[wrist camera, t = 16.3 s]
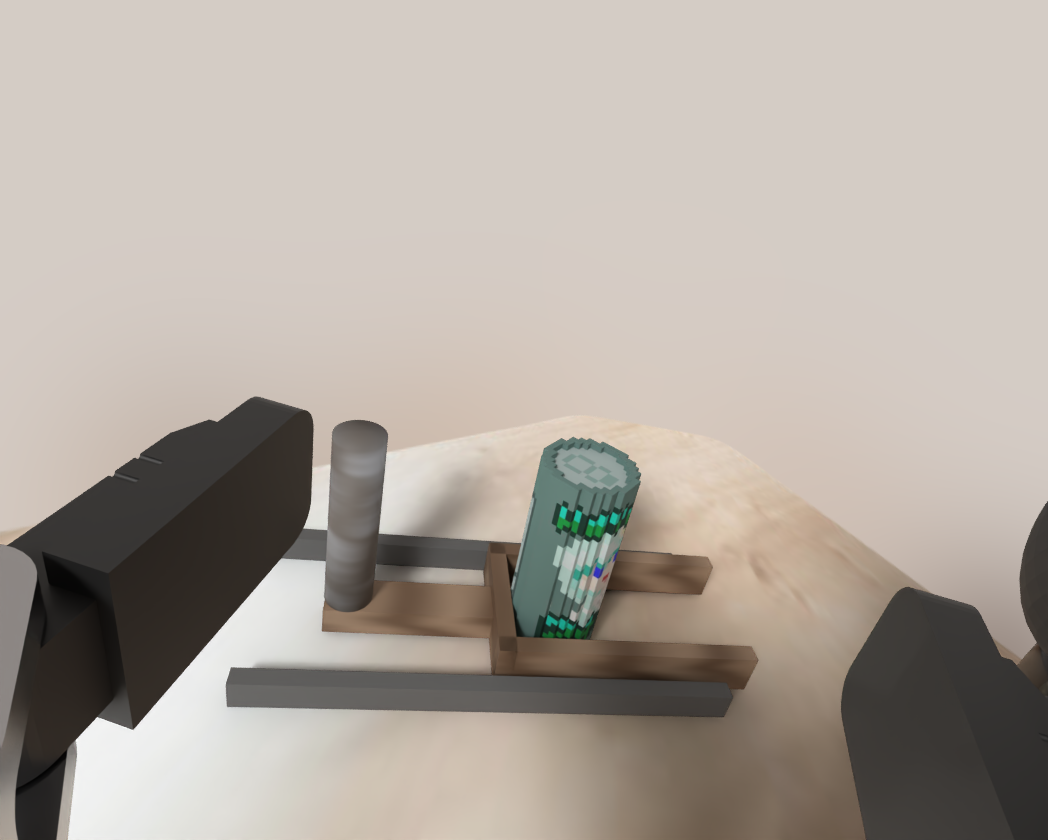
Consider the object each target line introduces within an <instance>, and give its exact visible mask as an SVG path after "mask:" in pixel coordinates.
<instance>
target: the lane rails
mask: <svg viewBox="0 0 1048 840" xmlns="http://www.w3.org/2000/svg"><path fill="white" fill-rule="evenodd" d="M327 531H328V530H314V529H303V530H302V532H301V533H300V535H299V537H298V538H297V540H296V541H295V543H294V544H293V545H292V546H291V548H290V549H289V550H288V551H287V552H286V553H285V554H284V556H283V557H282V558H286V559H303V560H320V561H326V552H327ZM489 542H491V543H506V544H521V543H508V542H493V541H478V540H463V539H448V538H434V537H419V536H404V535H389V534H379V535H378V545H377V555H376V564H388V565H405V566H422V567H439V568H456V569H473V570H484V566H485V561H486V556H487V551H488V546H489ZM618 551H626V552H641V553H656V554H671V553H658V552H643V551H628V550H618ZM671 555H672V554H671ZM226 697H227V707H269V708H317V709H365V710H413V711H461V712H509V713H557V714H605V715H653V716H701V717H724V715H725V713H726V711H727V709H728V707H729V705H730V703H731V701H732V699H733V696H732V694H731V692H730V689H729V687H728V685H727V683H721V682H688V681H656V680H623V679H590V678H558V677H525V676H493V675H460V674H428V673H395V672H363V671H330V670H298V669H265V668H232V667H231V669H230V673H229V676H228V679H227V682H226Z"/></svg>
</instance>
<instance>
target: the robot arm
mask: <svg viewBox="0 0 1048 840" xmlns="http://www.w3.org/2000/svg"><path fill="white" fill-rule="evenodd" d="M312 455H313V419H312V416H311V414H310V413H309V412H308V411H306V410H302V409H299V408H295V407H292V406H289V405H285V404H282V403H278V402H275V401H271V400H268V399H264V398H261V397H253V398H250V399H249V400H247V401H246V402H244V403H243V404H242V405H240V406H239V407H238V408H236V409H235V410H233V411H232V412H231V413H229V414H228V415H227V416H225V417H224V418H223V419H221V420H220V421H218V422H215V421H212V420H207V421H204V422H201V423H198V424H195V425H193V426H190V427H186V428H184V429H181V430H178V431H175V432H172V433H170V434H168V435H167V436H165V437H164V438H163V439H161V440H160V441H158V442H157V443H155V444H154V445H153V446H151V447H149V448H148V449H146V450H145V451H144V452H142V453H141V454H140V457H139V459H136V458H133V459H132V460H130V461H129V462H128V463H126V464H125V465H123V466H122V467H120V468H119V469H117V470H116V471H115V474H114V476H113V477H111V476H107V477H106V478H104V479H103V480H101V481H100V482H99V483H97V484H96V485H94V486H93V487H91V488H90V489H88V490H87V491H85V492H84V493H83V494H81V495H80V496H78V497H77V498H75V499H74V500H73V501H71V502H70V503H68V504H67V505H66V506H64V507H63V508H61V509H59V510H58V511H57V512H55V513H54V514H52V515H51V516H49V517H48V518H46V519H45V520H43V521H42V522H41V523H39V524H38V525H36V526H35V527H33V528H32V529H30V530H29V531H27V532H26V533H25V534H23V535H22V536H20V537H19V538H17V539H16V540H14V541H13V542H11V543H10V544H8V545H7V546H6V545H2V544H0V840H68V831H69V822H70V813H71V804H72V795H73V785H74V776H75V767H76V758H77V746H76V742H75V740H76V739H77V738H78V737H79V736H80V735H81V734H82V733H83V732H84V730H85V729H86V728H87V727H88V726H89V725H90V724H91V723H92V722H93V721H94V720H95V719H96V718H97V717H99V718H102V719H105V720H107V721H110V722H113V723H116V724H118V725H121V726H124V727H127V728H129V729H132V730H133V729H134V728H135V727H136V726H137V725H138V724H139V723H140V721H141V720H142V719H143V718H144V717H145V716H146V714H147V713H148V712H149V711H150V710H151V709H152V707H153V706H154V705H155V704H156V703H157V702H158V701H159V699H160V698H161V697H162V696H163V695H164V694H165V692H166V691H167V690H168V689H169V688H170V687H171V685H172V684H173V683H174V682H175V681H176V680H177V678H178V677H179V676H180V675H181V674H182V673H183V672H184V670H185V669H186V668H187V667H188V666H189V665H190V663H191V662H192V661H193V660H194V659H195V658H196V656H197V655H198V654H199V653H200V652H201V651H202V650H203V648H204V647H205V646H206V645H207V644H208V643H209V641H210V640H211V639H212V638H213V637H214V636H215V634H216V633H217V632H218V631H219V630H220V629H221V627H222V626H223V625H224V624H225V623H226V622H227V621H228V619H229V618H230V617H231V616H232V615H233V614H234V612H235V611H236V610H237V609H238V608H239V607H240V605H241V604H242V603H243V602H244V601H245V600H246V599H247V597H248V596H249V595H250V594H251V593H252V592H253V590H254V589H255V588H256V587H257V586H258V585H259V583H260V582H261V581H262V580H263V579H264V578H265V576H266V575H267V574H268V573H269V572H270V571H271V570H272V568H273V567H274V566H275V565H276V564H277V563H278V561H279V560H280V559H281V558H282V557H283V556H284V554H285V553H286V552H287V551H288V550H289V549H290V548H291V546H292V545H293V544H294V543H295V541H296V540H297V538H298V537H299V535H300V533H301V532H302V530H303V527H304V525H305V523H306V520H307V517H308V514H309V510H310V505H311V488H312V458H313V456H312ZM1020 594H1021V604H1022V608H1023V612H1024V615H1025V619H1026V622H1027V625H1028V627H1029V629H1030V631H1031V632H1032V634H1033V636H1034V638H1035V640H1036V641H1037V643H1038V645H1039V647H1040V648H1041V649H1042V650H1043V651H1044V652H1045V653H1046V654H1047V656H1048V502H1047V503H1046V504H1045V506H1044V508H1043V509H1042V511H1041V513H1040V514H1039V516H1038V518H1037V519H1036V521H1035V523H1034V526H1033V528H1032V530H1031V532H1030V535H1029V538H1028V540H1027V543H1026V546H1025V549H1024V553H1023V558H1022V564H1021V571H1020ZM841 713H842V721H843V726H844V731H845V736H846V741H847V746H848V751H849V756H850V761H851V766H852V771H853V776H854V781H855V786H856V790H857V795H858V800H859V805H860V810H861V815H862V820H863V825H864V830H865V835H866V840H1048V696H1044V695H1043V694H1042V693H1041V692H1040V691H1039V690H1038V688H1037V687H1036V686H1035V685H1034V684H1033V683H1032V682H1031V681H1030V680H1029V679H1028V677H1027V676H1026V675H1025V674H1024V673H1023V672H1022V671H1021V670H1020V669H1019V668H1018V666H1017V665H1016V664H1015V663H1014V662H1013V661H1012V660H1010V659H1006V658H1003V657H1001V655H1000V653H999V651H998V649H997V647H996V645H995V643H994V641H993V639H992V637H991V635H990V633H989V631H988V629H987V627H986V625H985V623H984V621H983V619H982V617H981V615H980V613H979V612H978V610H977V609H976V608H975V607H973V606H971V605H968V604H965V603H962V602H958V601H955V600H951V599H948V598H944V597H941V596H938V595H934V594H931V593H927V592H924V591H920V590H917V589H914V588H910V587H905V588H903V589H901V590H899V591H898V592H897V593H896V594H895V595H894V597H893V598H892V599H891V601H890V603H889V604H888V606H887V608H886V609H885V611H884V613H883V614H882V616H881V618H880V619H879V621H878V622H877V624H876V626H875V627H874V629H873V631H872V632H871V634H870V636H869V637H868V639H867V641H866V642H865V644H864V646H863V647H862V649H861V650H860V652H859V654H858V655H857V657H856V659H855V660H854V662H853V664H852V665H851V667H850V669H849V671H848V674H847V676H846V679H845V682H844V687H843V692H842V700H841Z"/></svg>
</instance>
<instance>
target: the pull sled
mask: <svg viewBox="0 0 1048 840" xmlns="http://www.w3.org/2000/svg"><path fill="white" fill-rule="evenodd" d="M387 442H388V433H387V431H386V430H385V429H384V428H383V427H382V426H380V425H379V424H376V423H374V422H370V421H365V420H351V421H346V422H343V423H341V424H339V425H337V426H336V427H335V428H334V429H333V432H332V451H331V471H330V491H329V511H328V531H327V552H326V572H325V592H324V598H325V602H324V607H323V620H322V631H326V632H351V633H375V634H400V635H424V636H449V637H473V638H489V645H490V657H491V669H492V675H493V676H525V677H558V678H590V679H623V680H656V681H688V682H721V683H727V685H728V687H729V689H744V688H745V686H746V684H747V682H748V680H749V678H750V676H751V674H752V672H753V670H754V668H755V666H756V664H757V662H758V659H757V657H756V654H755V652H754V650H753V648H752V647H750V646H726V645H702V644H678V643H654V642H630V641H605V640H581V639H557V638H533V637H516V629H515V621H514V613H513V605H512V598H511V590H510V584H512V582H513V578H514V573H515V569H516V565H517V560H518V556H519V552H520V547H521V544H506V543H491V542H489V546H488V551H487V556H486V561H485V566H484V571H483V573H484V585H485V586H469V585H450V584H432V583H414V582H396V581H377V580H374V576H375V566H376V555H377V545H378V535H379V524H380V514H381V504H382V493H383V483H384V473H385V462H386V452H387ZM712 568H713V567H712V565H711V563H710V561H709V559H708V557H701V556H686V555H671V554H656V553H641V552H626V551H618V553H617V557H616V560H615V563H614V566H613V569H612V572H611V575H610V578H609V581H608V584H607V587H606V589H611V590H629V591H647V592H665V593H683V594H702V591H703V589H704V587H705V584H706V582H707V579H708V577H709V575H710V572H711V570H712Z"/></svg>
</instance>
